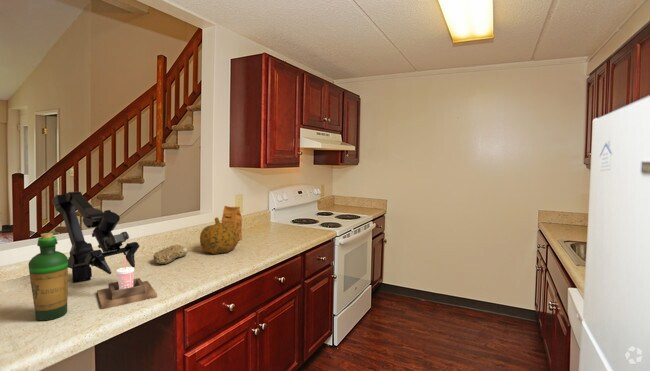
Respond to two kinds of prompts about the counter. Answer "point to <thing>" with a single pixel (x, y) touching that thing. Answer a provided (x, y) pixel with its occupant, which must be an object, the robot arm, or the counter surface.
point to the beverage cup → (125, 276)
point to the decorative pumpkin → (219, 238)
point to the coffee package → (233, 218)
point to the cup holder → (125, 293)
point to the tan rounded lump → (170, 254)
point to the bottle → (49, 279)
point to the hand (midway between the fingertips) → (122, 270)
